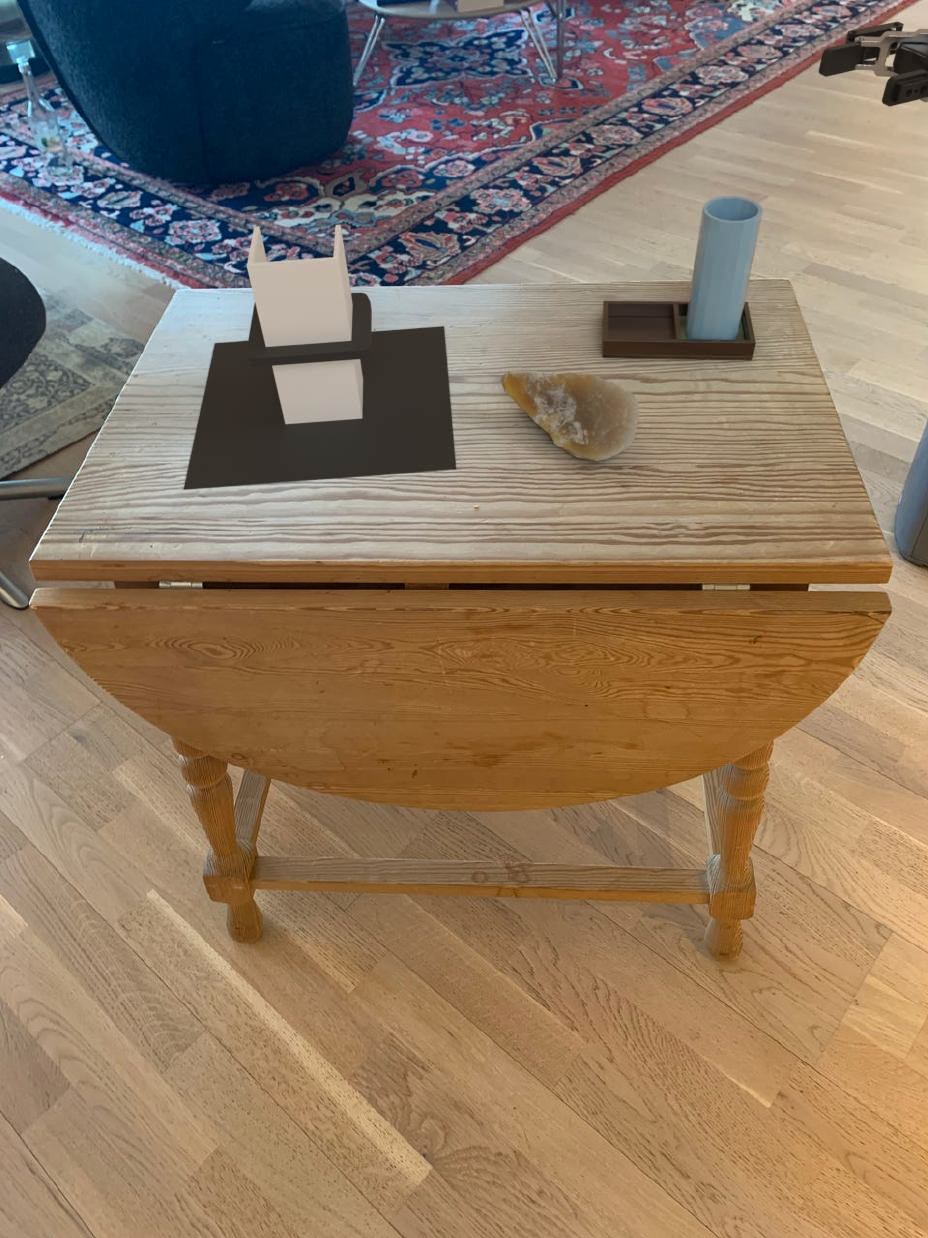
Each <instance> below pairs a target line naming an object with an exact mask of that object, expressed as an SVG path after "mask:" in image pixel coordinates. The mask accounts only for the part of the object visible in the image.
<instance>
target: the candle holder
mask: <svg viewBox="0 0 928 1238" xmlns="http://www.w3.org/2000/svg"><path fill="white" fill-rule="evenodd" d="M334 229H335V230H334V241H333V242H334V243H333V256H332V257H317V258H304V259H291V260H290V259H289V260H278V261H276V260H275V261H268V260H267V255H266V250H265V246H264V241H263V235H262V232H261V228H260V226H254V227H253V233H252V237H251V243H250V248H249V253H248V258H247V264H246V268H247V274H248V277H249V278H248V279H249V281H250V285H251V290H252V294H253V299H254V304H253V310H252V316H251V321H250V328H249V333H248V339H247V340H239V341H238V340H237V341H227V342H226V341H224V342H214V346H213V350H212V355H211V360H210V364H209V369H208V373H207V378H206V382H205V387H204V391H203V396H202V402H201V406H200V410H199V416H198V420H197V425H196V429H195V434H194V438H193V442H192V447H191V452H190V458H189V462H188V465H187V471H186V475H185V480H184V484H183V490H193V489H194V490H195V489H207V488H219V487H220V488H221V487H222V488H223V487H235V486H249V485H261V484H274V483H288V482H303V481H315V480H329V479H341V478H343V479H344V478H354V477H368V476H381V475H382V476H383V475H397V474H409V473H422V472H435V471H437V472H438V471H449V470H457V460H456V448H455V439H454V438H455V437H454V426H453V414H452V401H451V392H450V380H449V367H448V356H447V355H448V354H447V345H446V333H445V325H442V326H441V325H440V326H427V327H413V328H401V329H399V328H398V329H387V330H374V331H372V330H373V329H372V328H373V326H372V325H373V323H372V322H373V309H372V302H371V299H370V298H369V296H368V294H367V293H366V292H351V291H352V290H351V284H350V278H349V271H348V263H347V258H346V250H345V244H344V238H343V237H344V236H343V231H342V225H341V224H335V227H334Z"/></svg>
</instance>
